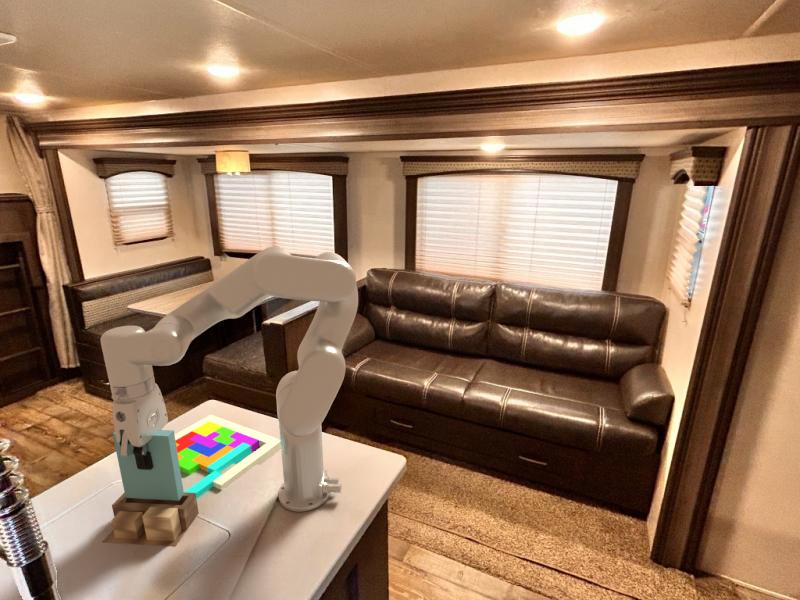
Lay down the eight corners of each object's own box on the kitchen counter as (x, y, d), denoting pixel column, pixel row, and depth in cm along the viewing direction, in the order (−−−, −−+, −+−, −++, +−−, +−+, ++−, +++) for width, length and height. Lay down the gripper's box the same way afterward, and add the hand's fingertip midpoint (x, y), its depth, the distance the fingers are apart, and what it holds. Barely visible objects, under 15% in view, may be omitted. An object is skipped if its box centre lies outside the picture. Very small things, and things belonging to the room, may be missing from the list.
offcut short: (145, 529, 90) (142, 512, 89) (137, 539, 88) (134, 521, 87) (123, 528, 91) (120, 511, 89) (115, 537, 88) (111, 520, 87)
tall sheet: (184, 494, 92) (173, 430, 88) (178, 500, 90) (168, 436, 86) (132, 491, 93) (119, 427, 88) (125, 497, 91) (112, 433, 86)
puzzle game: (212, 422, 134) (113, 479, 108) (210, 414, 133) (111, 469, 107) (282, 449, 120) (189, 520, 95) (282, 440, 119) (187, 509, 94)
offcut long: (181, 531, 90) (177, 508, 88) (174, 541, 87) (170, 517, 86) (154, 529, 90) (150, 506, 89) (146, 539, 88) (142, 516, 86)
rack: (199, 516, 95) (195, 492, 93) (176, 550, 86) (171, 524, 85) (132, 513, 96) (127, 489, 94) (102, 545, 87) (96, 520, 86)
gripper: (124, 407, 76) (141, 491, 81) (174, 370, 92) (186, 443, 97) (85, 406, 77) (105, 490, 82) (141, 369, 92) (155, 442, 97)
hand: (149, 464), depth 89 cm, fingers closed on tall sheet, 2 cm apart
